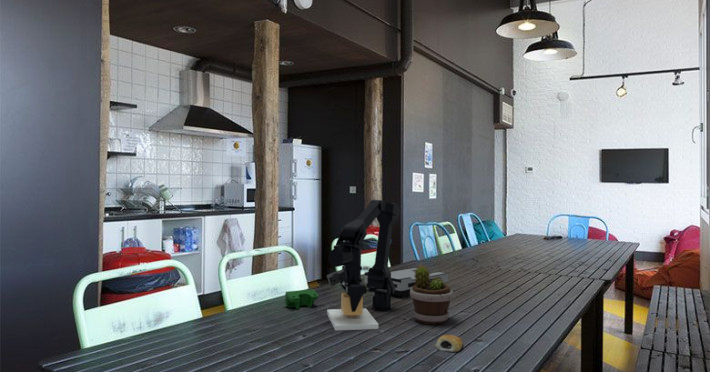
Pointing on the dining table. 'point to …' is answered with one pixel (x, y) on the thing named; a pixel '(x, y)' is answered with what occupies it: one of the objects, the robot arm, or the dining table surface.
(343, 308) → the cardboard box
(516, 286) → the dining table surface
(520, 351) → the dining table surface
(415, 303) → the flowerpot
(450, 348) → the pastry
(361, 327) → the plate
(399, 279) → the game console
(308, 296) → the clamp
